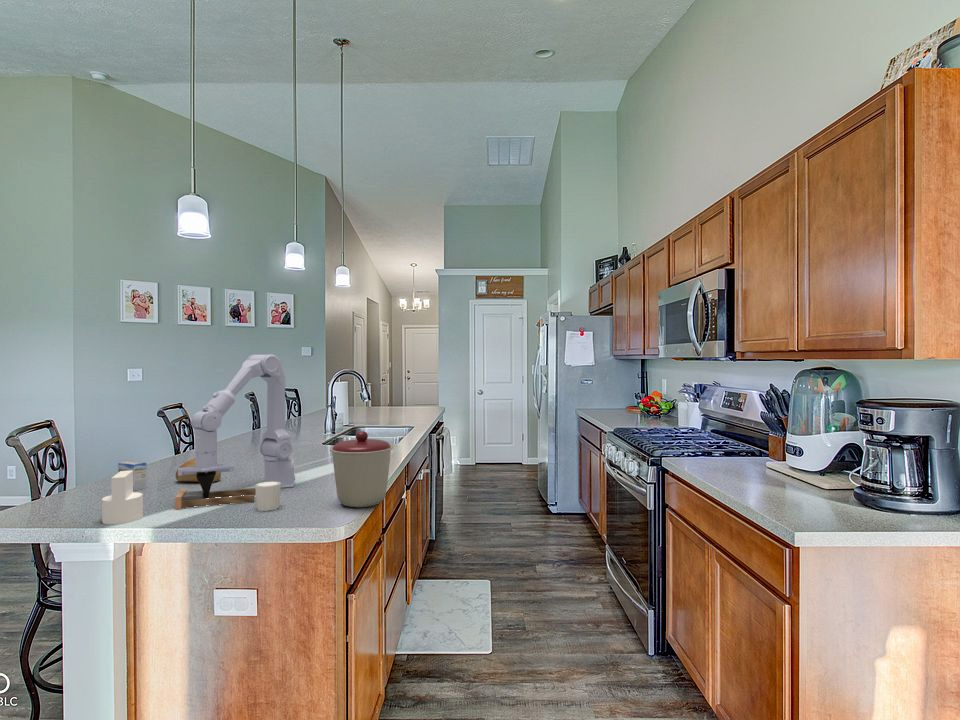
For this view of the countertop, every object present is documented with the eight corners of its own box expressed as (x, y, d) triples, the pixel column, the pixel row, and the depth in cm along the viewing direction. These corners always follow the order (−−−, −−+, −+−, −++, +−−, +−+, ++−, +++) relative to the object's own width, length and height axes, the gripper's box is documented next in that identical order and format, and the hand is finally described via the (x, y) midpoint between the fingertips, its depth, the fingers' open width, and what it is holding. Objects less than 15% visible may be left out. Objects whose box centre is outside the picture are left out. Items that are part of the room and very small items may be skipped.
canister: (380, 513, 147) (379, 436, 147) (318, 510, 151) (318, 435, 151) (401, 496, 165) (401, 427, 165) (346, 493, 168) (345, 426, 168)
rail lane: (255, 493, 169) (255, 482, 169) (254, 502, 159) (254, 490, 159) (181, 500, 161) (181, 488, 161) (175, 509, 152) (175, 497, 152)
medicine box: (117, 489, 175) (117, 462, 175) (130, 486, 179) (130, 460, 179) (133, 491, 172) (133, 464, 172) (147, 488, 176) (146, 462, 176)
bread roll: (184, 478, 191) (184, 456, 191) (227, 478, 191) (226, 456, 191) (169, 485, 181) (169, 461, 181) (213, 485, 181) (213, 461, 181)
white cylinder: (256, 513, 148) (256, 487, 148) (254, 506, 154) (253, 482, 154) (282, 509, 151) (282, 484, 151) (279, 503, 158) (279, 479, 157)
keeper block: (204, 500, 162) (204, 490, 162) (202, 505, 156) (202, 495, 156) (186, 501, 160) (186, 491, 160) (182, 507, 154) (182, 496, 154)
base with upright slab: (107, 516, 146) (107, 472, 146) (146, 512, 149) (145, 469, 149) (97, 526, 137) (97, 479, 137) (138, 522, 141) (138, 476, 140)
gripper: (175, 455, 153) (176, 503, 153) (232, 452, 158) (232, 498, 158) (180, 451, 159) (180, 497, 159) (234, 448, 164) (234, 492, 164)
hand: (206, 497), depth 159 cm, fingers closed
